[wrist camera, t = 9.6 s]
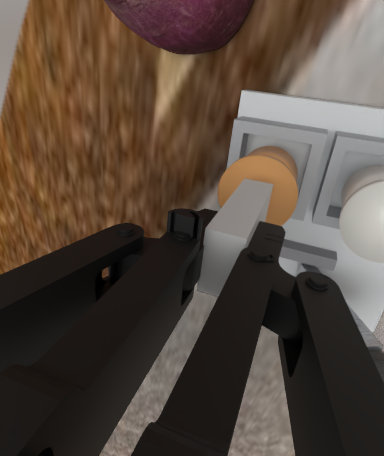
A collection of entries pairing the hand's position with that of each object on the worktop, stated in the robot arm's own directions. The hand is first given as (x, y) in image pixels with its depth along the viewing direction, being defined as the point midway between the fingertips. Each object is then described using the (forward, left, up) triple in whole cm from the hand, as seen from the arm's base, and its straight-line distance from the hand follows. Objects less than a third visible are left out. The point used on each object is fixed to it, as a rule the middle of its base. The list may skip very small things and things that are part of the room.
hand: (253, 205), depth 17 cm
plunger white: (+7, 0, -7) cm, 10 cm away
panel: (+4, -4, -12) cm, 14 cm away
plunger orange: (0, 0, -7) cm, 7 cm away
